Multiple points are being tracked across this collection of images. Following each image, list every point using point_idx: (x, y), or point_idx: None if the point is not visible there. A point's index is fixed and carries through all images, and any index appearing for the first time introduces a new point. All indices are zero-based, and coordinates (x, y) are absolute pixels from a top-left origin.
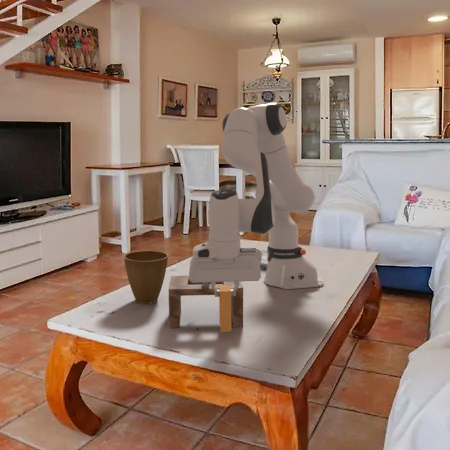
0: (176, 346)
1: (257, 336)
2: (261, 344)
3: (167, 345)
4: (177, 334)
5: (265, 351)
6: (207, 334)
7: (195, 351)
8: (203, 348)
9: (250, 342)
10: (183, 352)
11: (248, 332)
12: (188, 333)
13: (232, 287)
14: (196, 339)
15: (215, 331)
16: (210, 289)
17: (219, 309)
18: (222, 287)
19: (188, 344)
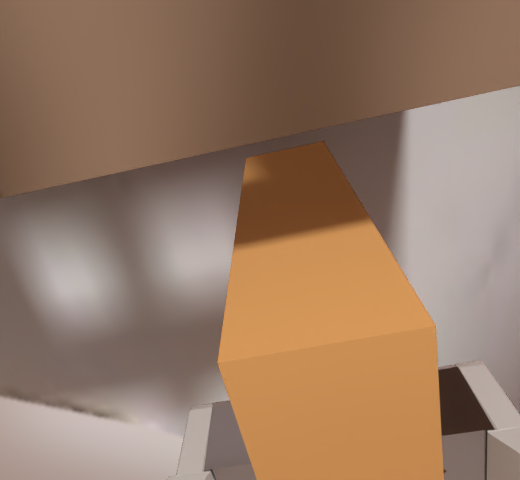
0: (78, 377)
1: (496, 207)
2: (503, 305)
3: (31, 374)
4: (10, 248)
5: (511, 370)
6: (186, 222)
7: (185, 408)
8: (212, 379)
9: (446, 290)
10: (136, 422)
11: (444, 153)
12: (67, 225)
13: (458, 46)
14: (145, 295)
15: (224, 169)
16: (39, 182)
17: (241, 196)
18: (300, 442)
19: (126, 352)
